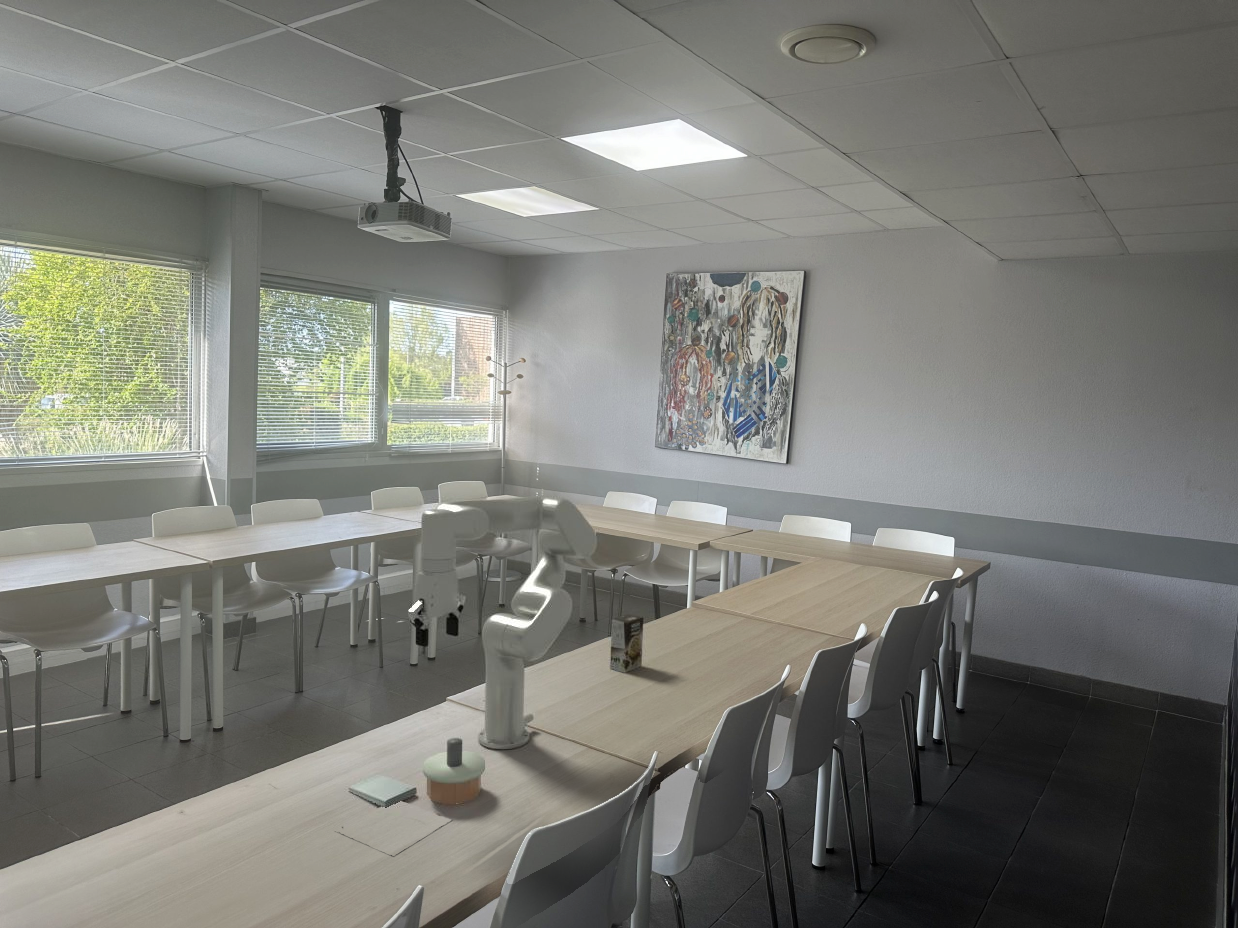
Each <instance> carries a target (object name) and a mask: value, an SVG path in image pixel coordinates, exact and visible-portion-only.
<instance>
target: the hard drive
mask: <svg viewBox="0 0 1238 928" xmlns="http://www.w3.org/2000/svg"><path fill="white" fill-rule="evenodd" d="M347 790H350V791H352V792H354V793H356V794H358V795H360V796H362V797H364V798H366V799H368V800H370V801H372V802H371V803H373V804H375V803H376V805H378V806H379V807H380V806H382V807H385V808H387V807H389V806H391V805H393V804H396V803H398V802H400V801H402V800H403V801H405V800H406V799H407V800H408V798H411V797H413V796H415V795H417V794H418V792H417V790H418V789H417V787H415V786H413V785H411V784H407V783H405V782H402V781H400V780H397V779H394V778H391V777H388V776H386V775H383V774H376V775H373V776H371V777H368V778H366V779H363V780H361V781H359V782H357V783H354V784H352V785H350V786H349V787H348V789H347ZM368 800H367V801H368ZM370 801H369V802H370Z"/></svg>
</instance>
